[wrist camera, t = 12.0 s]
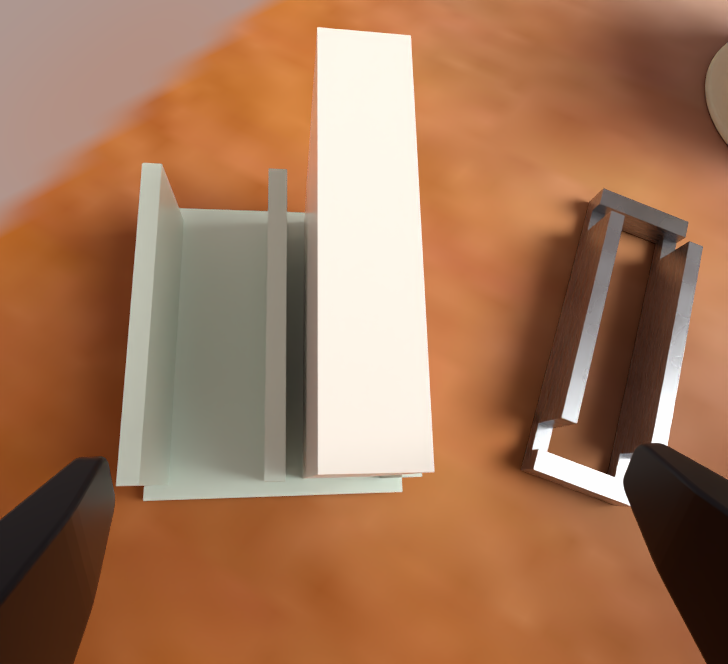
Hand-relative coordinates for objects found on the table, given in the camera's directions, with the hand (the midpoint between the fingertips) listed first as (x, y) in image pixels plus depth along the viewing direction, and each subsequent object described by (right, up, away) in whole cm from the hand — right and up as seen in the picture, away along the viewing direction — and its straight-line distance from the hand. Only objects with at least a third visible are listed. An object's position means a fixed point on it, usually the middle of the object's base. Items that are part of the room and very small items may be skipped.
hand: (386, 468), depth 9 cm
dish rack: (-4, +2, +12) cm, 13 cm away
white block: (-2, +2, +12) cm, 12 cm away
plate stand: (+10, +2, +14) cm, 18 cm away
